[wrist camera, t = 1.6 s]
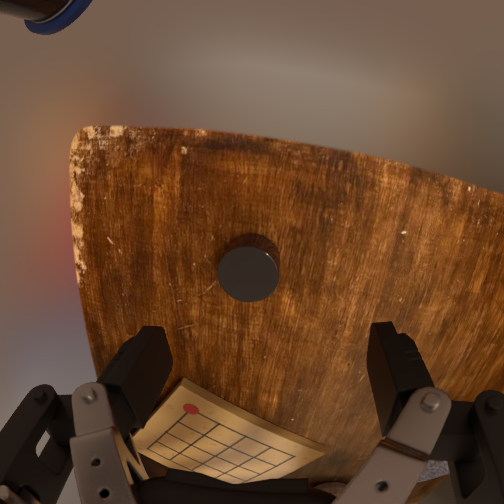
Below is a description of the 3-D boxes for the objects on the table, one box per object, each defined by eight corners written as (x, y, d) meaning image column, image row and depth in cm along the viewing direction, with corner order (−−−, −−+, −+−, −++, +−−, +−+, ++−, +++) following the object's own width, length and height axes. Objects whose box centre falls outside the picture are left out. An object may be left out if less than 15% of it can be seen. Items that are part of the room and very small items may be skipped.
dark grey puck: (215, 264, 28) (206, 280, 25) (245, 222, 26) (239, 234, 23) (259, 294, 28) (255, 312, 25) (291, 254, 27) (291, 270, 24)
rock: (466, 467, 31) (413, 494, 33) (455, 446, 37) (405, 471, 38) (473, 431, 29) (411, 464, 30) (459, 409, 34) (400, 438, 35)
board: (129, 438, 42) (125, 445, 40) (183, 376, 34) (179, 385, 32) (239, 489, 44) (238, 496, 43) (324, 445, 36) (325, 454, 35)
